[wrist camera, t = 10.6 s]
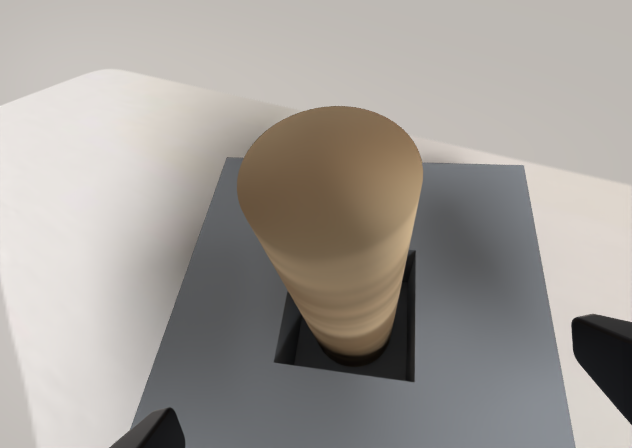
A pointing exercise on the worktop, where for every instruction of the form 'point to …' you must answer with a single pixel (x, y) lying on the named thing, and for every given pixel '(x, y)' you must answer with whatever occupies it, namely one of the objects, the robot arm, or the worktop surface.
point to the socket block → (404, 346)
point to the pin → (336, 220)
